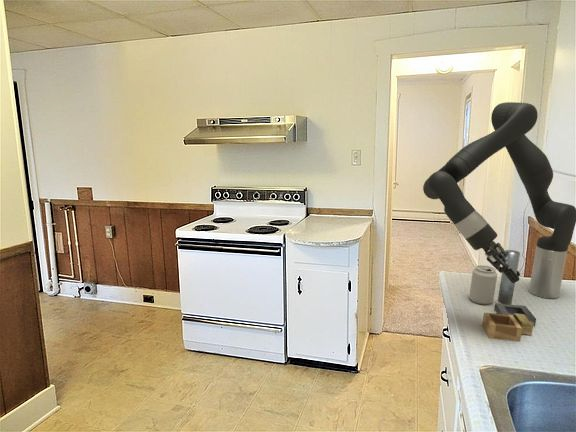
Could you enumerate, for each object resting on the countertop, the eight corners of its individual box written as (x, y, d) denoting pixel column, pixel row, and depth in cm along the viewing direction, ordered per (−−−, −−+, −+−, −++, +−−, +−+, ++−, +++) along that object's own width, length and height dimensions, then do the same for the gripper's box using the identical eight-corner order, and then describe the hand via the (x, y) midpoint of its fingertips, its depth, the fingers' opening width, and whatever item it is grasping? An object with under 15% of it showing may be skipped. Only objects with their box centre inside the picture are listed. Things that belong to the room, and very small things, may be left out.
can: (491, 307, 135) (496, 273, 132) (467, 302, 139) (471, 268, 136) (494, 299, 141) (499, 266, 138) (470, 294, 145) (475, 262, 142)
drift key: (512, 322, 125) (514, 311, 124) (523, 323, 124) (525, 312, 124) (520, 333, 118) (522, 322, 117) (531, 334, 118) (533, 323, 117)
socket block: (494, 309, 133) (495, 302, 133) (524, 312, 132) (525, 305, 131) (502, 323, 125) (503, 315, 124) (534, 326, 123) (536, 318, 123)
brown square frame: (482, 324, 124) (483, 312, 123) (510, 327, 122) (512, 315, 121) (489, 337, 116) (491, 325, 115) (520, 341, 114) (522, 328, 113)
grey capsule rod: (495, 298, 119) (503, 249, 115) (509, 300, 118) (517, 250, 115) (499, 303, 115) (507, 253, 112) (513, 305, 115) (522, 254, 111)
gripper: (484, 227, 109) (528, 280, 106) (489, 217, 121) (530, 264, 118) (460, 243, 113) (502, 294, 110) (468, 232, 125) (506, 278, 122)
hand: (516, 278), depth 114 cm, fingers closed on grey capsule rod, 3 cm apart
